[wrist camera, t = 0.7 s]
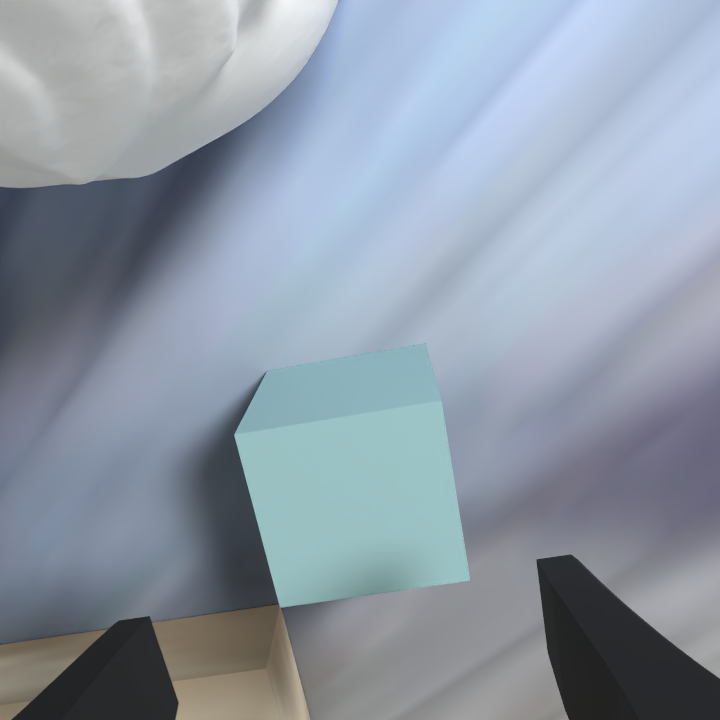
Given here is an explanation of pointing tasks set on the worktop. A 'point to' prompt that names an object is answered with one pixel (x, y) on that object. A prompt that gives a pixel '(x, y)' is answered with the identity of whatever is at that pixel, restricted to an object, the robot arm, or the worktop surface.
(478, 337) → the worktop surface
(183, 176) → the worktop surface
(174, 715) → the robot arm
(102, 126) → the decorative rooster
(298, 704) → the birch plinth
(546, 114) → the worktop surface
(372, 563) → the teal block
